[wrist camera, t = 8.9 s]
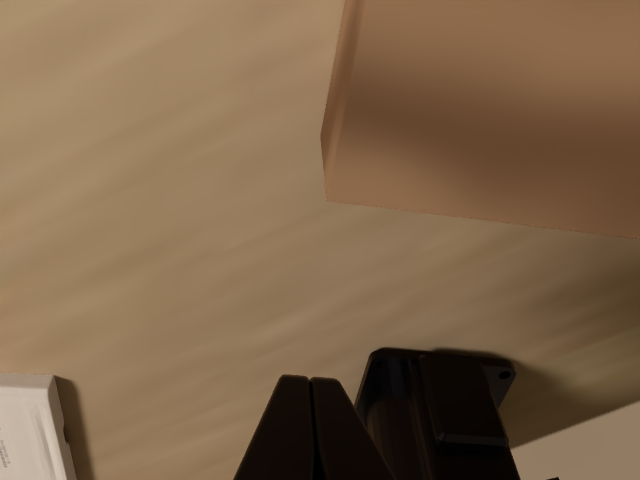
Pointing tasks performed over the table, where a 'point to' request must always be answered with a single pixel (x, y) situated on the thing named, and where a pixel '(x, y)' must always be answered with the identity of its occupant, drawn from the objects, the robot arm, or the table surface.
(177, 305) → the table surface
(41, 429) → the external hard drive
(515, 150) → the brown wooden block
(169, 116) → the table surface
